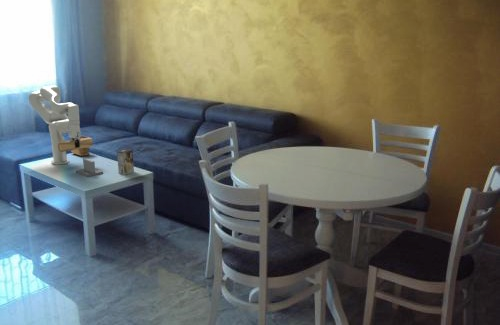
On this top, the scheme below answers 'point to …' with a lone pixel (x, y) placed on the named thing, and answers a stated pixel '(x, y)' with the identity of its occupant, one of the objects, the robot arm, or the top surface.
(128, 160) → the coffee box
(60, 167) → the top surface
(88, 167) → the ridge stand
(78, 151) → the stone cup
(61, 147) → the oak batten
